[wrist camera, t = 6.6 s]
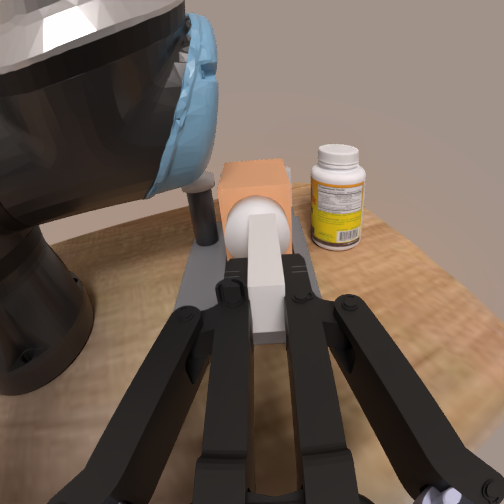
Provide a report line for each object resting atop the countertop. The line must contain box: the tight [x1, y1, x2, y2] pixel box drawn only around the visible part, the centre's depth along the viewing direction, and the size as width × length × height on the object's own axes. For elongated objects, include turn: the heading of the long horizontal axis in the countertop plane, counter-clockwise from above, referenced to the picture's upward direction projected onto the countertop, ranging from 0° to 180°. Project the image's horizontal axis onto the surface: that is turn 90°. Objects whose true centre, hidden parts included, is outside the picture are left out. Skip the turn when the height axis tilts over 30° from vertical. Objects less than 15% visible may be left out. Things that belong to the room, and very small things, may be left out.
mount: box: [173, 167, 322, 345], centre depth 27 cm, size 12×17×8 cm
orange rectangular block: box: [217, 159, 292, 261], centre depth 23 cm, size 5×8×9 cm, turn 0°
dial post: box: [181, 172, 219, 246], centre depth 30 cm, size 3×3×7 cm
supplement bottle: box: [311, 144, 366, 251], centre depth 31 cm, size 6×6×10 cm
